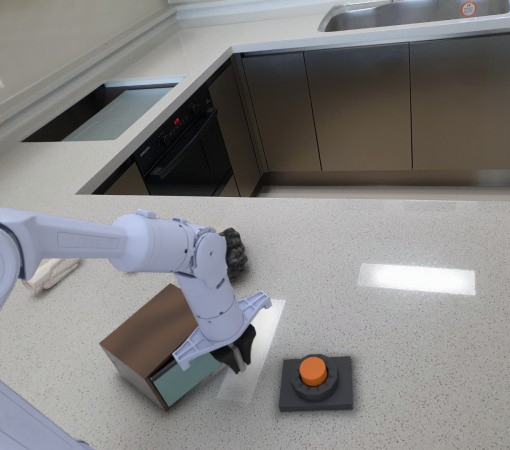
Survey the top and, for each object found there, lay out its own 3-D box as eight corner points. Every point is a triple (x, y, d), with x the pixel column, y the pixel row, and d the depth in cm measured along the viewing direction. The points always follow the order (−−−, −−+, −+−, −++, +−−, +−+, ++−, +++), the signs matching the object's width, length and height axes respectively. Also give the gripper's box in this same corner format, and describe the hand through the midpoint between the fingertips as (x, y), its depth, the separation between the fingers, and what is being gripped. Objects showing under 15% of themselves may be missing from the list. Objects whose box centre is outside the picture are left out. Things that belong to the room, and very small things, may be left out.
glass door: (257, 366, 69) (245, 337, 65) (185, 427, 63) (168, 400, 59) (237, 348, 72) (225, 319, 68) (167, 405, 66) (150, 377, 62)
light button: (300, 387, 63) (298, 379, 62) (302, 364, 66) (300, 357, 65) (326, 386, 62) (325, 378, 61) (327, 363, 65) (325, 356, 64)
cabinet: (232, 343, 74) (217, 308, 69) (166, 412, 67) (144, 378, 62) (186, 316, 81) (170, 282, 76) (121, 376, 73) (98, 343, 68)
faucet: (29, 294, 93) (106, 231, 107) (93, 323, 86) (166, 252, 100) (18, 276, 89) (98, 214, 104) (82, 305, 83) (160, 234, 97)
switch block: (280, 411, 64) (276, 399, 62) (285, 364, 69) (281, 352, 68) (352, 409, 62) (350, 397, 60) (351, 361, 68) (349, 348, 66)
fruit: (212, 205, 91) (198, 254, 79) (254, 210, 91) (247, 259, 79) (210, 239, 96) (197, 290, 84) (250, 243, 97) (243, 295, 84)
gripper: (241, 257, 64) (263, 320, 72) (149, 318, 58) (184, 379, 66) (271, 281, 59) (291, 345, 68) (174, 350, 53) (208, 412, 62)
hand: (240, 364), depth 67 cm, fingers closed
